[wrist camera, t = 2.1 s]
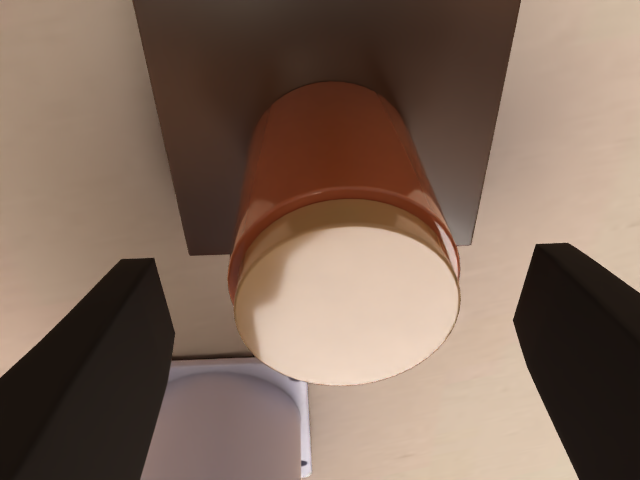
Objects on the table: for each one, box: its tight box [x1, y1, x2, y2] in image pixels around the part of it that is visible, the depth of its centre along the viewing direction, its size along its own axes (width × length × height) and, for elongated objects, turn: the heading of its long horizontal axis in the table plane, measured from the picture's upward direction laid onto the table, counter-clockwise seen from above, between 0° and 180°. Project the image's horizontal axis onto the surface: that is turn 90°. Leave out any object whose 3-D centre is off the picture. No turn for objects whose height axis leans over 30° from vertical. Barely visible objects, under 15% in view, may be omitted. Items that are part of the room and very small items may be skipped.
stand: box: [132, 0, 521, 256], centre depth 13 cm, size 14×9×2 cm, turn 1°
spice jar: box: [227, 81, 461, 386], centre depth 12 cm, size 5×5×6 cm
